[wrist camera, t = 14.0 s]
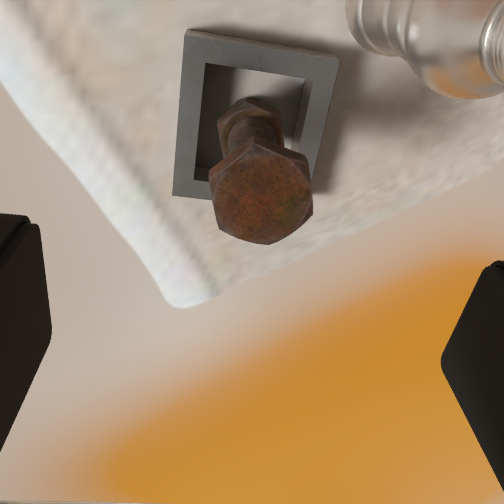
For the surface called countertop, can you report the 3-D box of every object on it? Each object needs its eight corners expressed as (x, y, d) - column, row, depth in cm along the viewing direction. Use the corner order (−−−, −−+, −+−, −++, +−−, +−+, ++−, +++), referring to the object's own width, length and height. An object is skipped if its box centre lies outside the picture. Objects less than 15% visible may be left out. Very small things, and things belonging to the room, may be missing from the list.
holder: (331, 52, 34) (340, 60, 32) (298, 195, 40) (304, 211, 38) (187, 29, 33) (184, 34, 30) (175, 180, 39) (172, 195, 36)
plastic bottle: (449, 5, 33) (690, 49, 16) (367, 69, 35) (506, 169, 18) (404, -83, 30) (640, -139, 13) (319, -7, 32) (429, 27, 15)
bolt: (295, 99, 36) (336, 175, 23) (269, 158, 38) (294, 256, 26) (223, 71, 35) (225, 134, 22) (201, 134, 37) (192, 224, 24)
